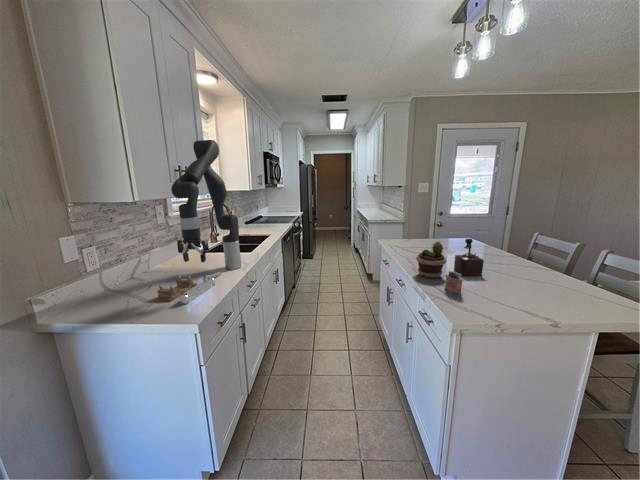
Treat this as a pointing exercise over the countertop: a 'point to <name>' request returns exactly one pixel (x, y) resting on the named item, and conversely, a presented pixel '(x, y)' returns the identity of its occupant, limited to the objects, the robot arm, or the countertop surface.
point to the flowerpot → (431, 261)
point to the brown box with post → (468, 263)
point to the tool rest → (175, 290)
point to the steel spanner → (197, 291)
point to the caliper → (211, 276)
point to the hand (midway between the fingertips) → (195, 261)
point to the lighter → (453, 283)
